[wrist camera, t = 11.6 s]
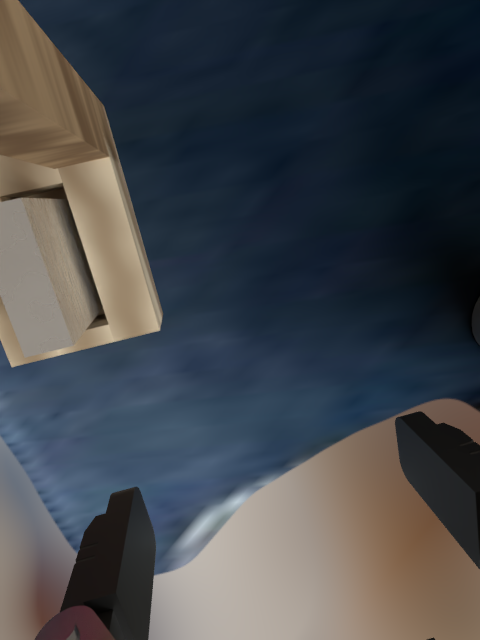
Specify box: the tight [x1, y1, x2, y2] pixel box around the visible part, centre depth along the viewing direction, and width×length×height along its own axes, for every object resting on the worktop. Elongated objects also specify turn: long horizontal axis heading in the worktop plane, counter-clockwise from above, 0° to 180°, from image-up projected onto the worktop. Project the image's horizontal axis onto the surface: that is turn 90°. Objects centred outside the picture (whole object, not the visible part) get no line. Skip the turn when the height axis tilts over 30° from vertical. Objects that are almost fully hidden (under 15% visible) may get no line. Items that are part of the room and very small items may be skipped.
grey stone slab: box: [0, 198, 103, 358], centre depth 30 cm, size 3×9×12 cm, turn 12°
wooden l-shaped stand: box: [0, 0, 163, 367], centre depth 23 cm, size 12×18×28 cm, turn 12°
